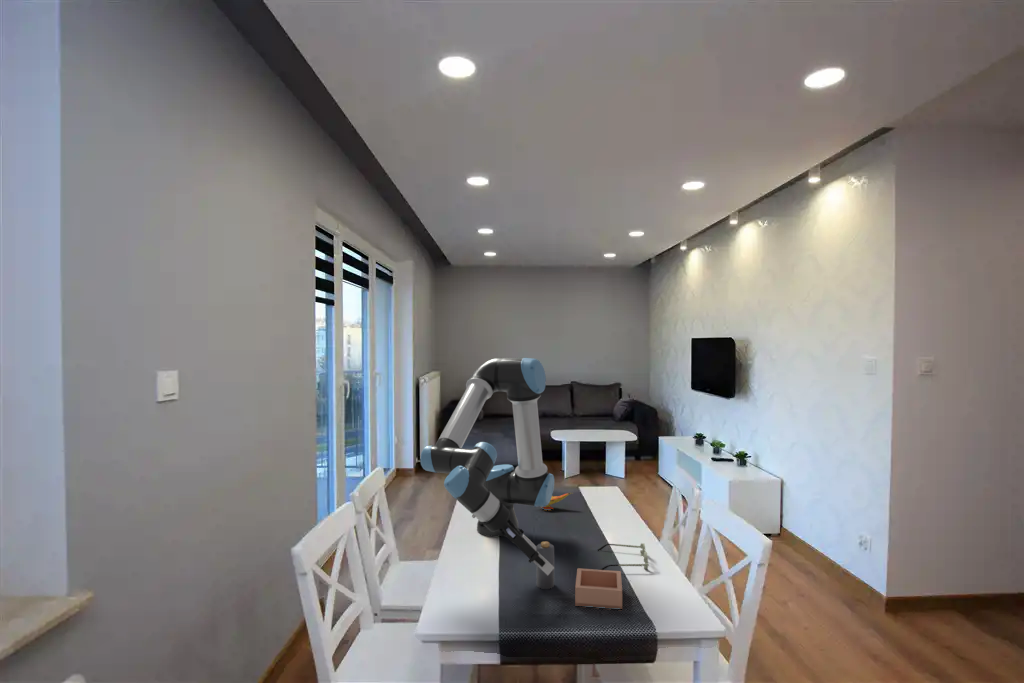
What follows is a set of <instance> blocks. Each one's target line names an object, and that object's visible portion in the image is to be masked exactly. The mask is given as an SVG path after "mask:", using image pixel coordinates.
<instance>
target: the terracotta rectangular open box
mask: <svg viewBox="0 0 1024 683" xmlns="http://www.w3.org/2000/svg"><path fill="white" fill-rule="evenodd" d="M621 572H622V571H621V570H607V569H604V570H599V569H592V568H579V567H578V568H577V570H576V578H575V587H574V588H575V590H574V592H575V593H574V595H575V596H574V597H575V599H574V602H575V604H574V606H593V607H605V608H620V609H622V610H623V585H622V584H623V583H622V573H621Z"/></svg>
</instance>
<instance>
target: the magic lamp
mask: <svg viewBox="0 0 1024 683" xmlns="http://www.w3.org/2000/svg"><path fill="white" fill-rule="evenodd" d="M573 494H574V492H566V493H563V494H562V495H559V496H555V495H554V496H553V495H552V497H551V500H550V502H549V504H548V505H547V506H545V507H543V508H544V509H553V510H554V507H552V506H551V505H554V504H557V503H559V502H561V501H562V500H564V499H565V498H566V497H568V496H569V495H573Z"/></svg>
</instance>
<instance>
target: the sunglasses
mask: <svg viewBox="0 0 1024 683" xmlns="http://www.w3.org/2000/svg"><path fill="white" fill-rule="evenodd" d="M607 546H615V547H623V548H624V547H625V548H638V549H642V550H640V552H639V554H640V557H641V556H643V557H642V558H643V562H644V563H629V564H627V563H622V564H621V563H619V564H609V565H608V564H607V565H605V566H603V567H602V568H600V569H598V570H606V569H607V568H609V567H643V569H644V570H648V568H649V565H650V564H649V557H648V552H647V550H646V545H645V543H642V542H641V543H640V545H634V544H632V545H631V544H619V543H607V544H604V545H602V546H601V547H600V548H598V549H597V550H601V551H602V550H603V549H605V547H607Z"/></svg>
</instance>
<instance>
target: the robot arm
mask: <svg viewBox="0 0 1024 683" xmlns="http://www.w3.org/2000/svg"><path fill="white" fill-rule="evenodd" d="M546 377H547V376H546V371H545V368H544V365H543V364H542V362H541V361H540V360H539V359H537V358H530V357H494V358H491V359H489V360H487V361H485V362H483V363H482V364H480V365H479V366H478V367H477V368H476V369H475V370H474V371H473V372H472V373H471V375H470V376H469V378H468V379H467V381H466V383H465V388H466V389H465V391H464V392H463V394H462V396H461V398H460V400H459V401H458V403H457V405H456V407H455V409H454V410H453V412H452V414H451V416H450V418H449V420H448V422H447V423H446V425H445V426H444V428H443V430H442V432H441V434H440V436H439V438H438V439H437V441H436V443H435V444H434V445H433V444H432V445H426V446H424V447H423V449H422V450H421V453H420V466H421V468H422V469H423V470H425V471H427V472H432V473H436V474H437V473H439V474H440V473H441V474H448V475H447V476H446V478H445V479H444V482H443V487H444V488H445V490H446V491H447V492H448V494H450V495H451V496H452V498H453V499H455V500H456V501H458V503H460V504H461V505H462V506H463V507H464V508H465V509H466V510H467V511H469V512H470V513H471V514H472V515H471V517H472V519H475V518H476V519H477V524H476V531H477V533H478V534H480V533H481V535H483V536H486V535H487V537H493V536H501V537H505V538H507V539H508V540H509V541H510V542H511V543H513V544H515V546H516V547H517V548H518V549H519V550H520V551H522V553H523V554H524V555H525V556H526V557H527V558H528V559H529V560H528V562H529V563H532V562H533V563H534V564H535V566H536V565H537V566H538V567H539V568H540V569H541V570H542V571H543V572H544V573H546V574H547V575H549V574H550V573H551V571H552V570H553V569H554V570H555V566H554V567H553V566H552V565H551V564H550V563H549V562H548V561H547V560H546V559H545V558H544V557H543V556H542V555H541V554H540V553H539V552H538V551H536V546H537V545H535V543H534V542H532V541H531V539H529V538H528V536H526V535H525V534H524V533H525V530H523V529H522V528H521V529H520V530H519V521H518V518H517V516H516V512H515V508H514V504H516V505H523V506H529V507H535V508H537V507H540V508H542V507H545V506H547V505H548V504H549V502H550V500H551V497H552V496H553V494H554V490H555V476H554V474H552V473H550V472H549V471H548V470H549V469H548V466H547V465H546V464H545V463H544V461H543V452H542V451H543V450H542V442H541V429H540V419H539V409H538V408H539V407H538V400H539V399H540V397H542V393H543V392H544V391H545V389H546V382H547V378H546ZM497 392H504V393H506V398H507V400H508V401H509V402H511V403H512V404H511V406H512V414H513V415H512V416H513V423H514V432H515V433H514V434H515V443H516V444H515V445H516V452H517V453H516V454H517V463H518V465H517V466H516V467H514V466H513V465H512V464H497V465H495V463H496V460H497V458H498V452H497V450H496V448H495V446H493V445H492V444H491V443H488V442H485V441H479V442H478V443H476V444H475V445H474V446H473V448H463V446H464V444H465V442H466V441H467V438H468V436H469V434H470V432H471V430H472V428H473V426H474V424H475V423H476V421H477V419H478V417H479V414H480V412H481V411H482V409H483V407H484V404H485V403H486V401H487V400H488V399H490V398H492V395H493V394H494V393H497Z"/></svg>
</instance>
